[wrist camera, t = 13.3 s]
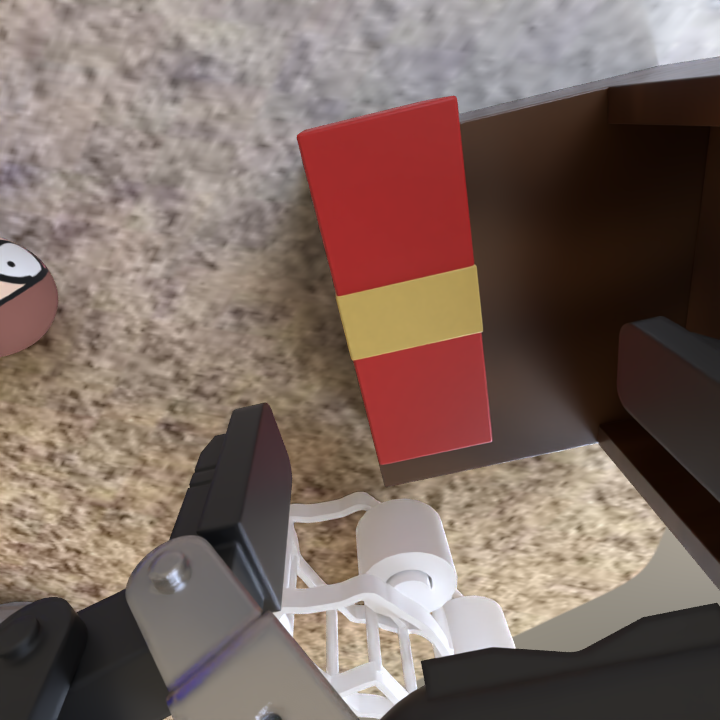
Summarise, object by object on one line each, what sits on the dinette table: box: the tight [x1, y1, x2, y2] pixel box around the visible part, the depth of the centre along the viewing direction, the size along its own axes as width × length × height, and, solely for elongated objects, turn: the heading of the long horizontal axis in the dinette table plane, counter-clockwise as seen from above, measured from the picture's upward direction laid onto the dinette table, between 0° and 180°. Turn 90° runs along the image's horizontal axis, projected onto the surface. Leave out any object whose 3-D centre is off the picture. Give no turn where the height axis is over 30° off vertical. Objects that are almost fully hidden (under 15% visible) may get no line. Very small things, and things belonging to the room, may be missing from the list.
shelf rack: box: [308, 57, 720, 590], centre depth 17 cm, size 16×16×17 cm
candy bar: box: [297, 96, 492, 465], centre depth 17 cm, size 12×5×4 cm, turn 12°
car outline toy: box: [273, 492, 516, 719], centre depth 31 cm, size 20×11×7 cm, turn 29°
